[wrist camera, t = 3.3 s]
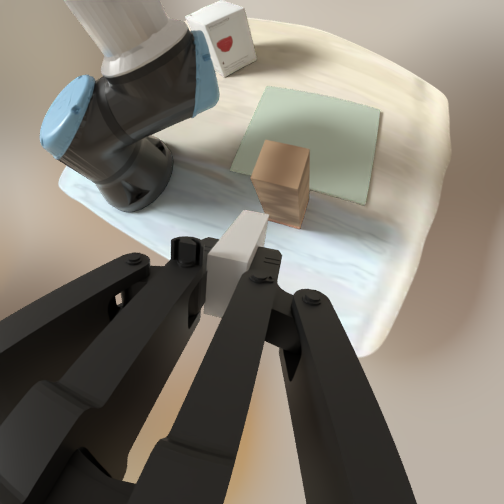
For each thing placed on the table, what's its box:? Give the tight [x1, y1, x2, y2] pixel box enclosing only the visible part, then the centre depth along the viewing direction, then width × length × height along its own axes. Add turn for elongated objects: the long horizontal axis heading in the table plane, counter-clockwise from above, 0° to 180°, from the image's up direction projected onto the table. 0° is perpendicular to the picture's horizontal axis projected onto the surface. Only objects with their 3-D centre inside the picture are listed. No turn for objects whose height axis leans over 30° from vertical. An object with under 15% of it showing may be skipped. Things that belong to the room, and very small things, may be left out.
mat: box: [230, 86, 380, 206], centre depth 43 cm, size 22×20×1 cm
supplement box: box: [185, 0, 257, 77], centre depth 44 cm, size 9×9×15 cm
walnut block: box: [251, 140, 310, 229], centre depth 34 cm, size 5×5×14 cm
